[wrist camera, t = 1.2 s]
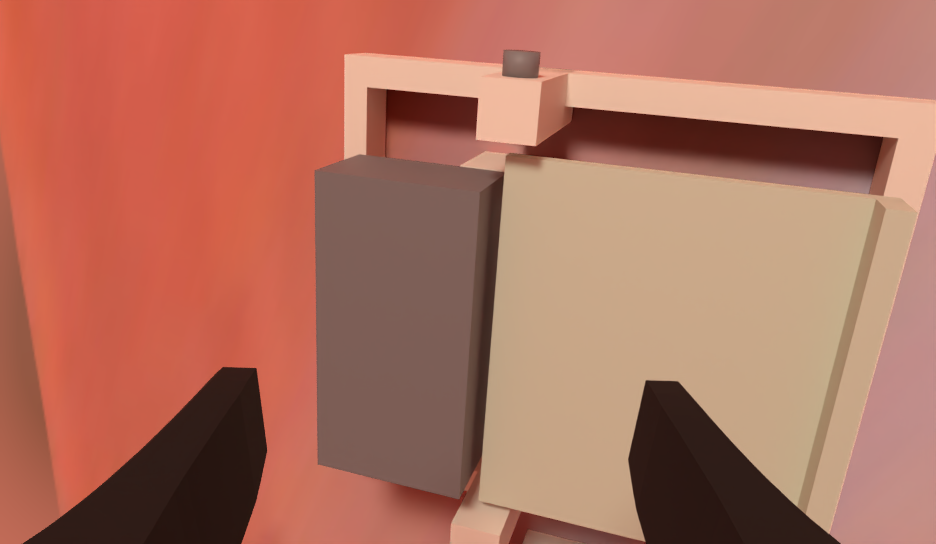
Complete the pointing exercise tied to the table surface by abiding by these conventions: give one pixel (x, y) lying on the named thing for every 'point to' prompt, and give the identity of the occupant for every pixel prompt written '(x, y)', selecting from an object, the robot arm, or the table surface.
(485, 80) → the frame
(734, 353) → the trapdoor
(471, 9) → the table surface
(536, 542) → the beige cube
